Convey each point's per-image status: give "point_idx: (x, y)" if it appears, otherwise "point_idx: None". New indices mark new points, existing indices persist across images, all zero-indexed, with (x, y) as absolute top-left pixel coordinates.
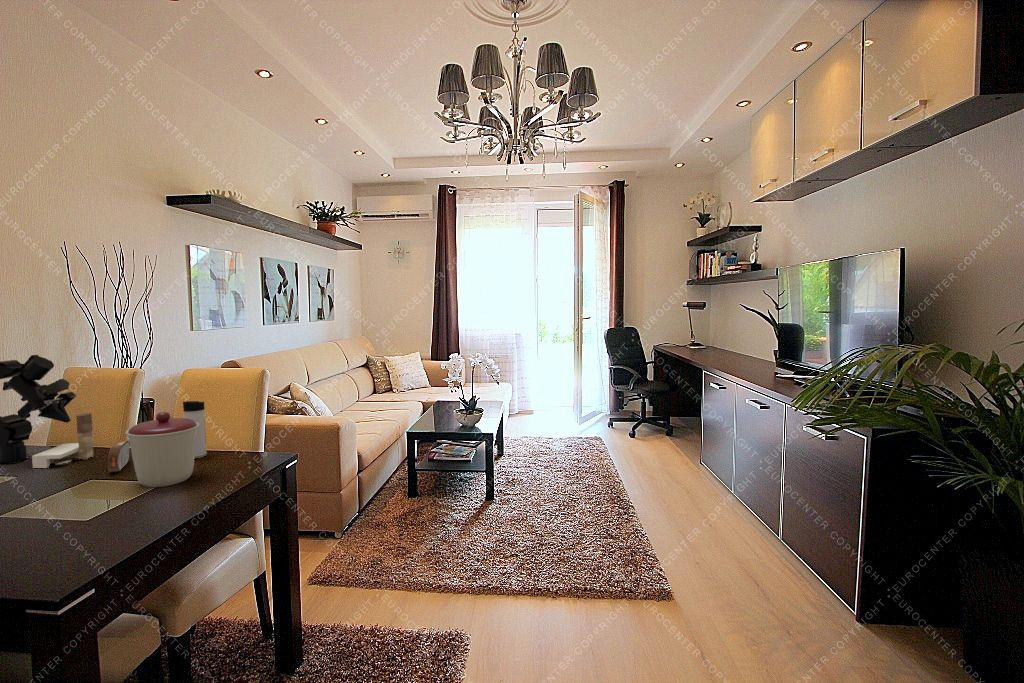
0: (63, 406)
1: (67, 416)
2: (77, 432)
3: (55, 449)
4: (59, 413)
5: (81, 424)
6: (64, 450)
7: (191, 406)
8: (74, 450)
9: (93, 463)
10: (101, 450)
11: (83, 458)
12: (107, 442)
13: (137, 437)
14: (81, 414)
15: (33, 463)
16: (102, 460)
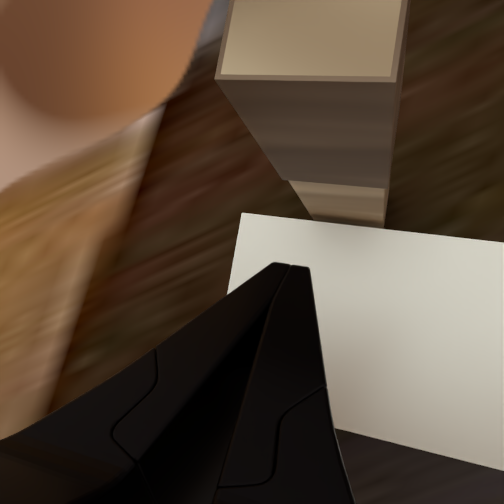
0: (18, 446)
1: (260, 298)
2: (388, 183)
3: (397, 381)
4: (325, 411)
5: (399, 92)
6: (454, 291)
7: None
8: (424, 235)
9: (482, 119)
10: (171, 221)
11: (385, 214)
12: (6, 270)
13: None
14: (272, 68)
15: None
16: (418, 100)
